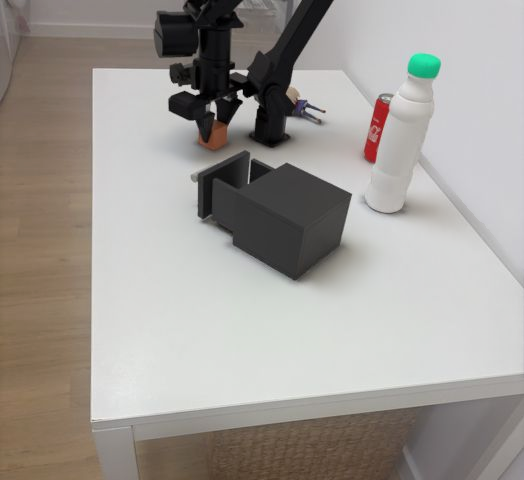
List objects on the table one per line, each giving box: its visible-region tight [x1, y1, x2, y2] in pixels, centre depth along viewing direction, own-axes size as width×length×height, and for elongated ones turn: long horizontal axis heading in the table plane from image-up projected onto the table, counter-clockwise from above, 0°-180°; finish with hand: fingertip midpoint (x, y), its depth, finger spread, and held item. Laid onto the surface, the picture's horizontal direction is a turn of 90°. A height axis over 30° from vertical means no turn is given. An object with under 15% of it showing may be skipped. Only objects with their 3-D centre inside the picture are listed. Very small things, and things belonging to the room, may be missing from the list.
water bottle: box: [364, 52, 442, 214], centre depth 88 cm, size 7×7×25 cm
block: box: [198, 118, 228, 151], centre depth 105 cm, size 4×4×4 cm
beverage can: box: [363, 92, 395, 164], centre depth 104 cm, size 5×5×12 cm
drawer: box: [190, 149, 276, 232], centre depth 86 cm, size 16×11×8 cm
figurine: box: [286, 86, 327, 124], centre depth 118 cm, size 6×4×15 cm
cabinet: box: [232, 162, 353, 281], centre depth 82 cm, size 13×13×10 cm
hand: (212, 139), depth 105 cm, fingers closed on block, 4 cm apart
